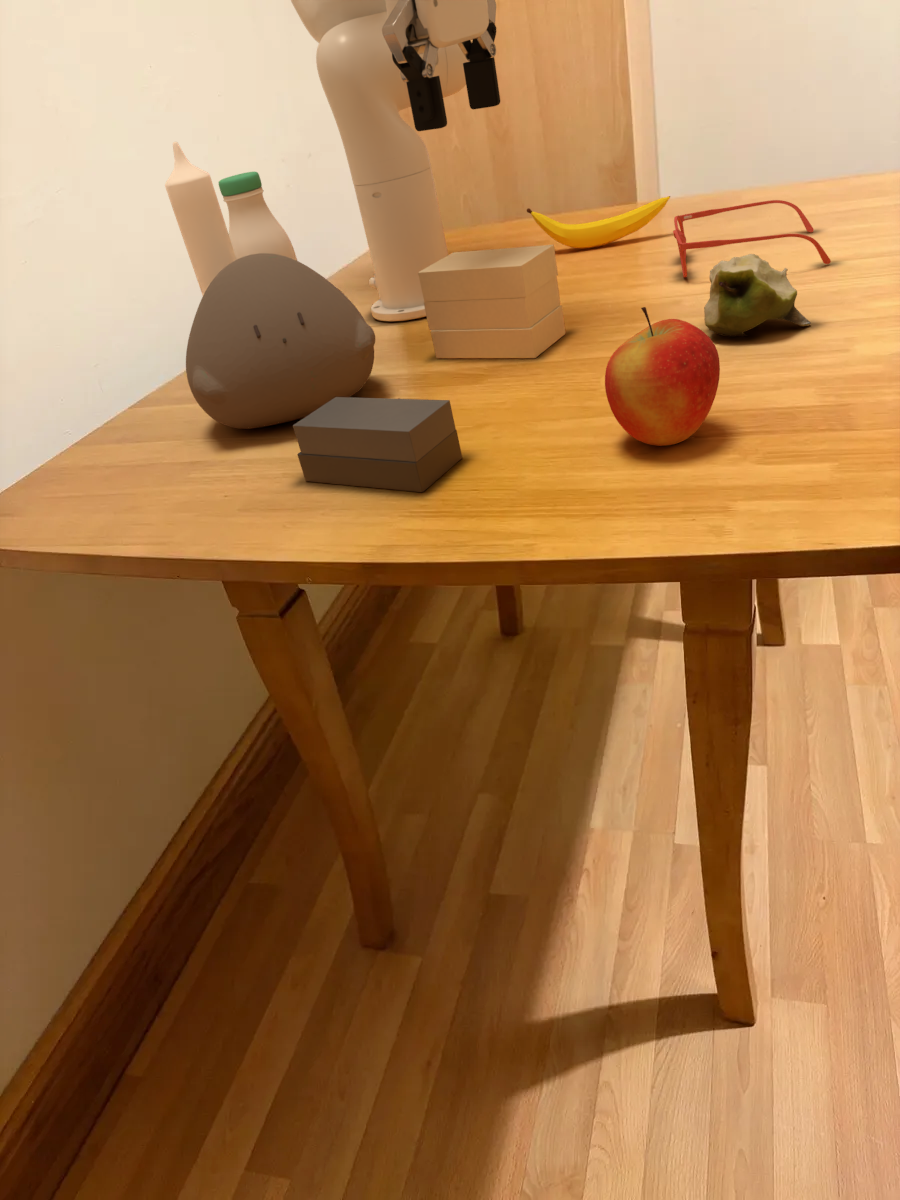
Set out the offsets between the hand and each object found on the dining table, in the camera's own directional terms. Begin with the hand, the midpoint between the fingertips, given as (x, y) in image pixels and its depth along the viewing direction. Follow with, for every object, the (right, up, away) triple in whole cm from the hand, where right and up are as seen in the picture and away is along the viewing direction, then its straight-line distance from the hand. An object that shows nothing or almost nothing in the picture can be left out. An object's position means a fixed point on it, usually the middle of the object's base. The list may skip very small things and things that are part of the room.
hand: (459, 117), depth 84 cm
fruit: (+27, -20, 0) cm, 34 cm away
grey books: (-6, -34, -10) cm, 37 cm away
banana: (+20, +3, +39) cm, 44 cm away
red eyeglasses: (+33, -6, +20) cm, 39 cm away
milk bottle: (-20, -15, +26) cm, 36 cm away
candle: (-22, -22, +16) cm, 35 cm away
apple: (+15, -33, -16) cm, 40 cm away
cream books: (+4, -18, +11) cm, 22 cm away
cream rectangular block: (+3, -13, +8) cm, 16 cm away
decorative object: (-17, -26, +8) cm, 31 cm away
